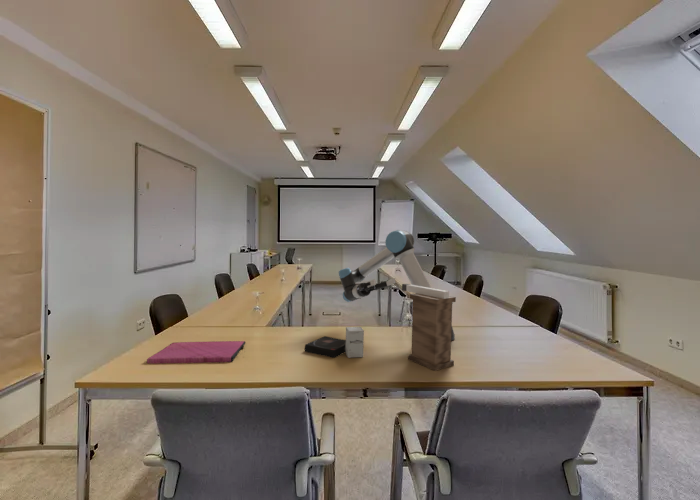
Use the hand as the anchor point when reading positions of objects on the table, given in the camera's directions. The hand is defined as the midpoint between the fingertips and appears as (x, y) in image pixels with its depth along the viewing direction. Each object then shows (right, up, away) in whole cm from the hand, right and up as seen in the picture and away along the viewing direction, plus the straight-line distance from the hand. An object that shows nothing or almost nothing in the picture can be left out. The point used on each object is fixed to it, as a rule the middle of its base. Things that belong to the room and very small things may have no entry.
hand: (385, 281), depth 182 cm
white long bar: (+15, -4, -22) cm, 27 cm away
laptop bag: (-87, -33, -17) cm, 94 cm away
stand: (+18, -34, -25) cm, 46 cm away
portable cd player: (-29, -33, -11) cm, 45 cm away
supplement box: (-16, -33, -18) cm, 41 cm away
